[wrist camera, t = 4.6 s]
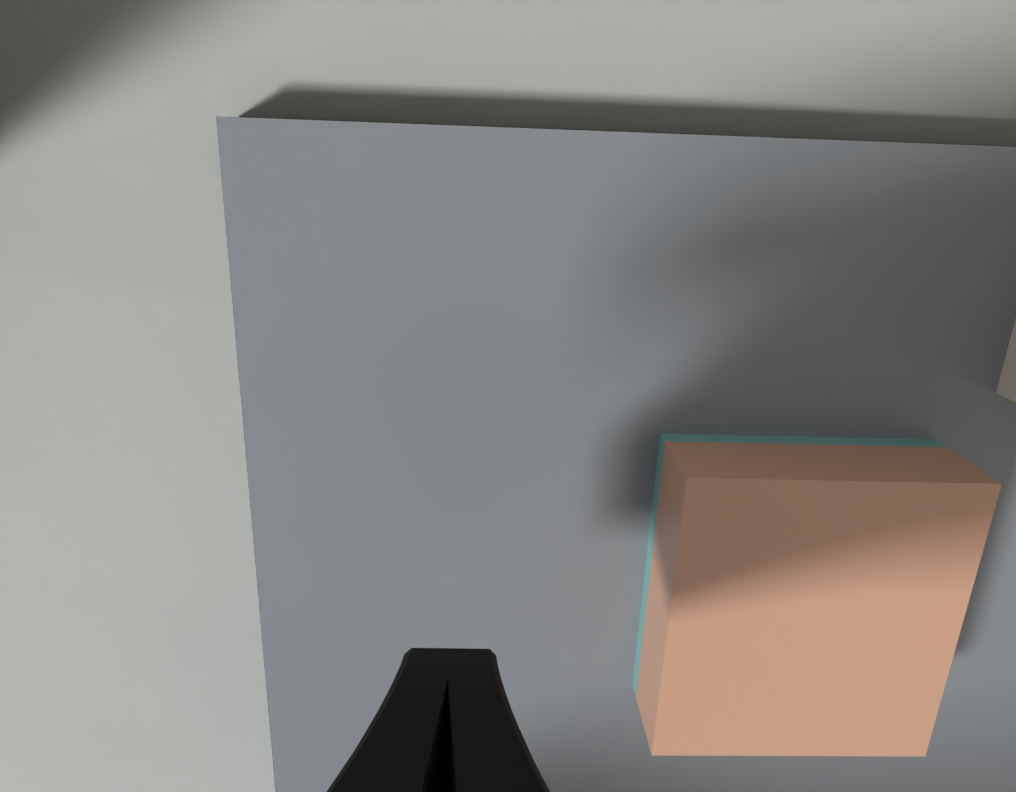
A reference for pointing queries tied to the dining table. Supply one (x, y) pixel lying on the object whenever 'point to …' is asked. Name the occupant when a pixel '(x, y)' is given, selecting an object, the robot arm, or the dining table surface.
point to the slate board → (590, 406)
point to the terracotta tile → (804, 593)
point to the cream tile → (1009, 371)
